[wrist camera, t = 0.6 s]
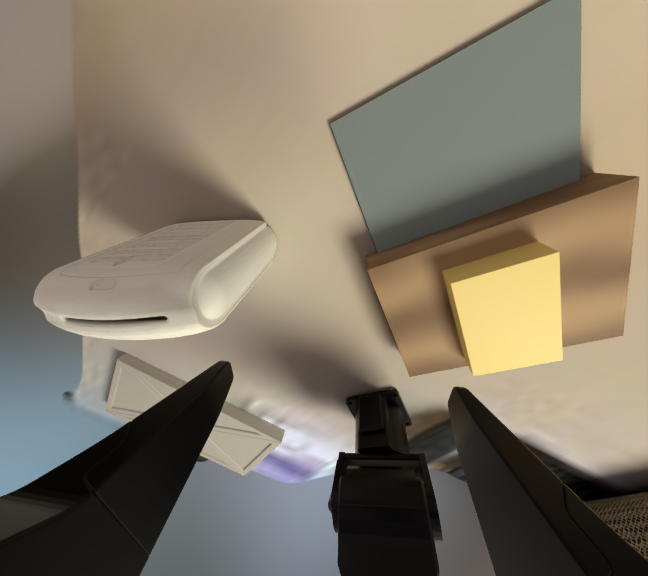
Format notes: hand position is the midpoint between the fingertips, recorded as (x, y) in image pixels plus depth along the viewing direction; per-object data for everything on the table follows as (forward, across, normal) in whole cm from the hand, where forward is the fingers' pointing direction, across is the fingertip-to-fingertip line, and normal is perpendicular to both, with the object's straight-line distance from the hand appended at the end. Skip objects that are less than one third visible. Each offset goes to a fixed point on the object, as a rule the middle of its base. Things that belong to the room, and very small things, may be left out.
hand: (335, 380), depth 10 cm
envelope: (+15, +22, +27) cm, 37 cm away
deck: (+13, -11, +2) cm, 18 cm away
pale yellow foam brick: (+10, -11, +2) cm, 16 cm away
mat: (+13, -7, -8) cm, 17 cm away
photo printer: (+14, +12, -1) cm, 18 cm away
